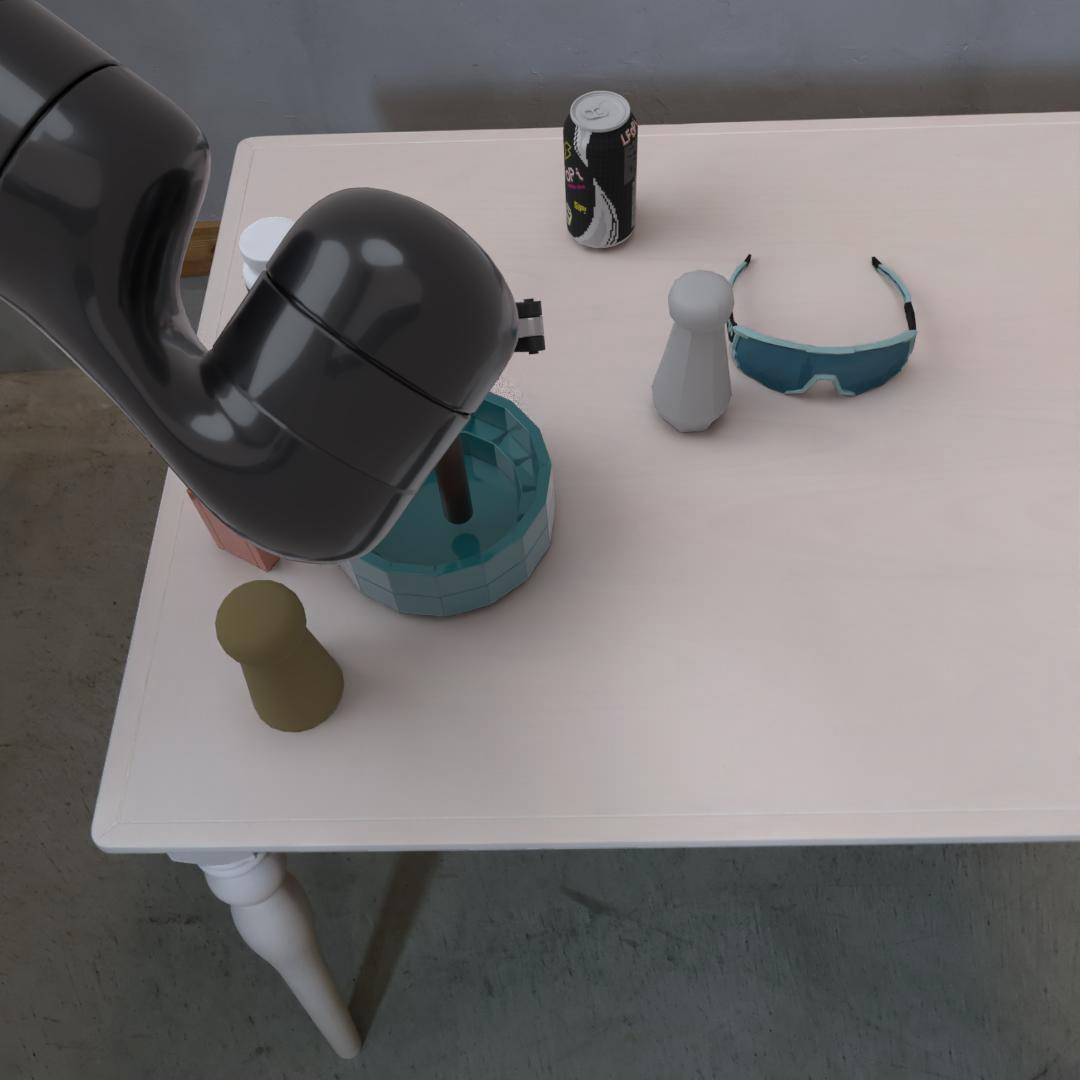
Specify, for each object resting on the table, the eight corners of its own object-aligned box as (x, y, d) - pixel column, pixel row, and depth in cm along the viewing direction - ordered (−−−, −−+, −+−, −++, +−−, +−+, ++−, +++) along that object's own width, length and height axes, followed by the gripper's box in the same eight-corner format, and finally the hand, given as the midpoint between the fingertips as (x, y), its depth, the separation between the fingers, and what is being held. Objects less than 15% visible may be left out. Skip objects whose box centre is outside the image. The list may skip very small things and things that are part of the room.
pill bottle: (333, 357, 89) (304, 264, 80) (262, 360, 89) (225, 268, 81) (339, 304, 92) (312, 209, 83) (270, 307, 92) (236, 213, 84)
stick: (438, 517, 77) (392, 312, 60) (454, 496, 78) (413, 288, 61) (463, 529, 76) (424, 325, 60) (478, 507, 77) (444, 301, 60)
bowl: (291, 561, 79) (269, 514, 74) (412, 406, 86) (400, 353, 81) (480, 657, 74) (470, 613, 69) (593, 484, 81) (591, 434, 76)
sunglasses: (724, 400, 84) (730, 349, 80) (721, 277, 94) (726, 225, 90) (917, 406, 83) (932, 354, 79) (894, 280, 93) (907, 228, 89)
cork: (309, 748, 71) (264, 674, 62) (233, 706, 73) (179, 628, 64) (362, 671, 74) (326, 589, 65) (287, 633, 76) (242, 548, 67)
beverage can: (556, 219, 96) (550, 97, 86) (617, 199, 97) (618, 76, 87) (583, 263, 93) (580, 142, 83) (646, 241, 94) (651, 119, 84)
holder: (216, 546, 80) (185, 490, 74) (256, 498, 82) (228, 440, 76) (268, 572, 79) (240, 517, 73) (306, 523, 81) (282, 466, 75)
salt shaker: (645, 437, 83) (651, 314, 72) (655, 378, 86) (662, 251, 75) (725, 446, 82) (743, 323, 71) (732, 386, 85) (750, 259, 74)
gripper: (552, 240, 47) (540, 251, 64) (224, 272, 47) (298, 275, 64) (568, 418, 49) (552, 383, 66) (251, 449, 49) (316, 406, 66)
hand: (426, 330), depth 65 cm, fingers closed on stick, 2 cm apart
